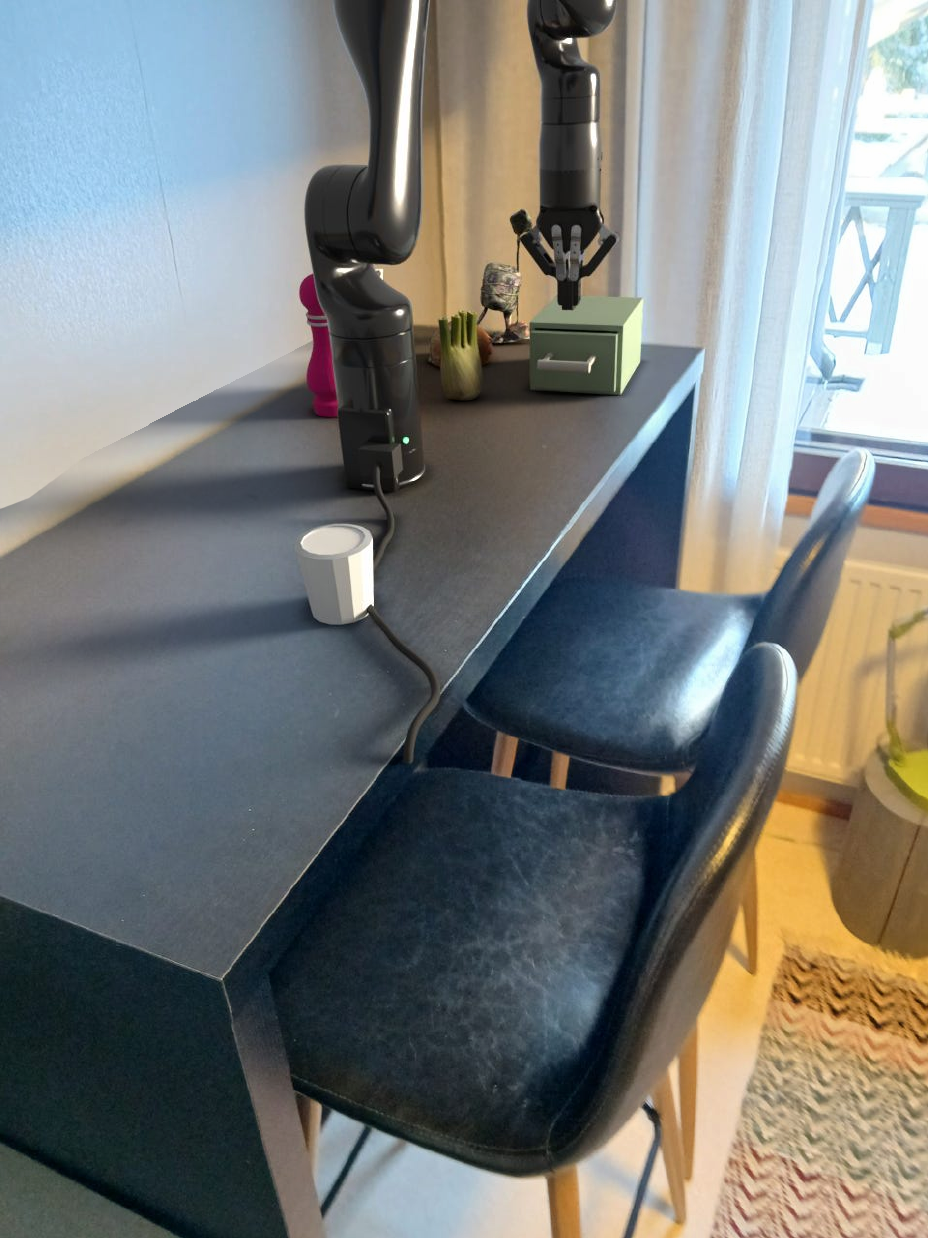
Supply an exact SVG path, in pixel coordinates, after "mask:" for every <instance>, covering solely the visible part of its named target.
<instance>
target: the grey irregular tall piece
mask: <svg viewBox="0 0 928 1238" xmlns="http://www.w3.org/2000/svg"><path fill="white" fill-rule="evenodd" d="M509 222H510V226H511V229H512V230H513V233H514V234H515V235H517V236H516V245H517V246H516V247H517V248H516V266H512V265H507V264H503V263H500V262H498V261H497V262H495V261H493V262H490V261H489V260H486V261H485V262H486V263H487V264H486V265H485V268H484V271H483V276H482V277H483V278H482V279H481V280H482V281H481V282H482V284H481V287H480V297H479V300H480V305H481V306H482V307H483V310H482V312H481V313H480V315H479V317H478V319H477V325H478V326H480V324H481V322H483V319H484V318H485V316H486V314H487V313H488V310H491V311H495V312H500V313H502V316H503V319H504V324H505V325H504V326H505V330H503V329H502V330H497V331H493V332H492V333H491V338H492V339H493V343H494V344H498V343H500V344H506V343H513V342H517V341H520V340H530V335H529V328H530V327H529V325H528V324H527V322H526V321H519V294H520V289H521V286H522V280H523V279H522V278H523V276H522V273H521V270H520V249H521V241H520V238H521V236H522V235H523V234H525V233H526V232H528V231H530V230H531V229H532V228H533V227H534V223H533V220H532V217H530V215H529V212H528V211H527V210H526V209H525V208H520V210H518V211H517V212H514V213H513V214H512V215H511V216H510V217H509ZM489 262H490V263H489ZM515 310H516V317H517V319H516V321H515V322H512V316H513V315H512V314H513V313H514V311H515Z"/></svg>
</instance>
